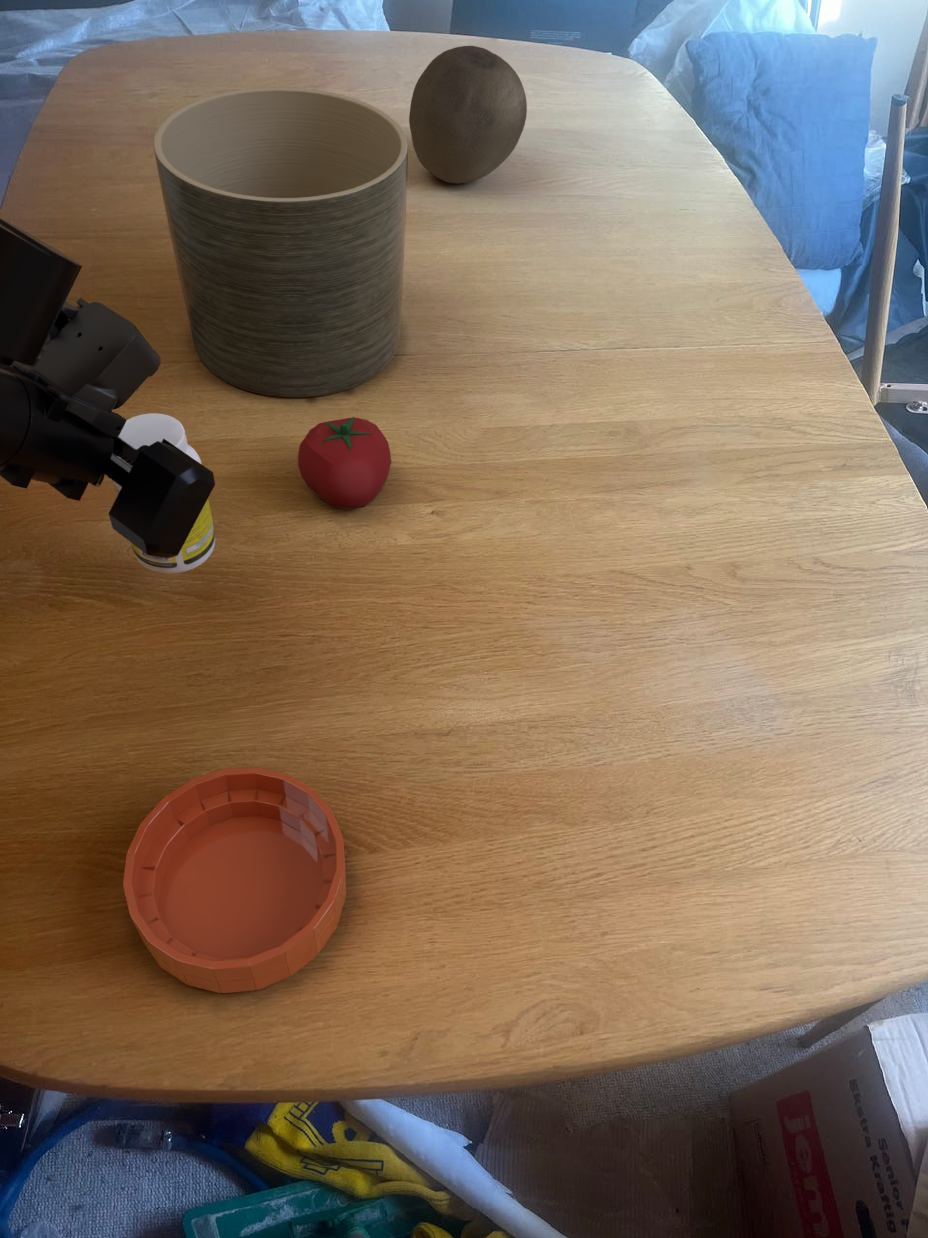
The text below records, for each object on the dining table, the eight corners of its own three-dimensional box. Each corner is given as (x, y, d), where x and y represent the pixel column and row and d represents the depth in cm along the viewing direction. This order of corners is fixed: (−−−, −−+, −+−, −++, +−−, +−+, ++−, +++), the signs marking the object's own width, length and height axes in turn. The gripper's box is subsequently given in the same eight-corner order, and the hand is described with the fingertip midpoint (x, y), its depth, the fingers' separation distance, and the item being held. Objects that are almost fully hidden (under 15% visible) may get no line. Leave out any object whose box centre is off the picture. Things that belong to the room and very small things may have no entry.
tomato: (287, 481, 86) (280, 417, 80) (361, 449, 89) (360, 385, 84) (335, 534, 82) (332, 471, 77) (411, 499, 86) (413, 435, 80)
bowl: (165, 1031, 56) (151, 1005, 52) (119, 841, 63) (104, 807, 60) (375, 945, 60) (375, 916, 56) (309, 776, 67) (305, 741, 64)
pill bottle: (206, 512, 76) (186, 398, 68) (224, 566, 73) (205, 453, 64) (126, 528, 75) (95, 414, 66) (140, 585, 71) (110, 471, 63)
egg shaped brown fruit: (454, 214, 119) (462, 85, 107) (386, 168, 125) (387, 41, 114) (538, 186, 125) (555, 61, 113) (470, 143, 131) (479, 20, 120)
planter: (442, 365, 99) (453, 170, 83) (239, 427, 90) (210, 223, 75) (345, 260, 110) (340, 72, 95) (158, 306, 102) (117, 108, 86)
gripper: (164, 362, 50) (321, 433, 65) (-41, 230, 57) (142, 321, 72) (71, 545, 52) (245, 575, 66) (-117, 396, 59) (77, 452, 73)
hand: (176, 473), depth 69 cm, fingers closed on pill bottle, 6 cm apart
